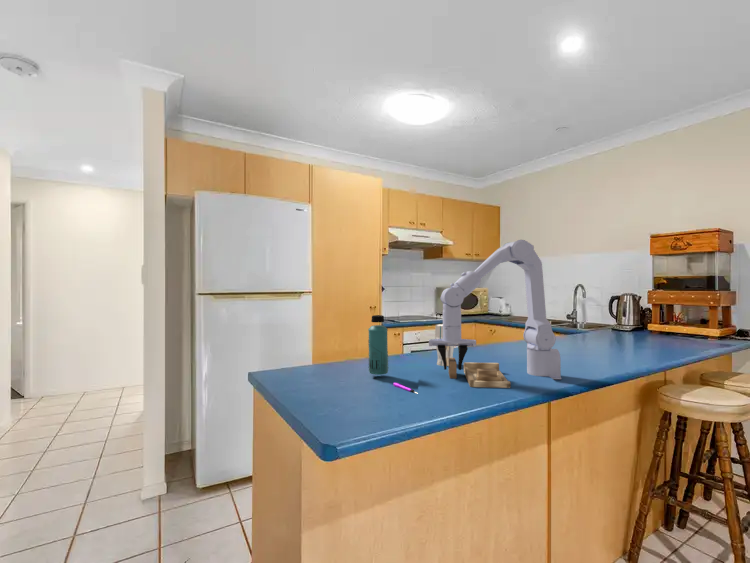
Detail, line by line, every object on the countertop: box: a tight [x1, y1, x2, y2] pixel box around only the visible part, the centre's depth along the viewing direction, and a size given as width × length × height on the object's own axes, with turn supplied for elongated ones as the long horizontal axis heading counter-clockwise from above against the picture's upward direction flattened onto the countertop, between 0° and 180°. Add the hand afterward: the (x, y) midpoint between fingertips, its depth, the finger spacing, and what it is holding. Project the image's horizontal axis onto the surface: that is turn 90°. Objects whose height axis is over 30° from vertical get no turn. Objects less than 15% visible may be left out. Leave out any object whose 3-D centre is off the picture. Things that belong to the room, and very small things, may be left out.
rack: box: [463, 361, 512, 389], centre depth 116 cm, size 11×18×4 cm, turn 172°
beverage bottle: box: [367, 314, 389, 376], centre depth 124 cm, size 6×7×20 cm
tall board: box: [448, 357, 458, 379], centre depth 121 cm, size 7×2×6 cm, turn 173°
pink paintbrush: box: [392, 382, 419, 394], centre depth 108 cm, size 3×1×16 cm
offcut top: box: [477, 369, 497, 377], centre depth 110 cm, size 5×2×2 cm, turn 86°
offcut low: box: [476, 375, 501, 381], centre depth 110 cm, size 6×2×2 cm, turn 82°
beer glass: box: [434, 323, 455, 367], centre depth 137 cm, size 7×7×15 cm
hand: (452, 369), depth 121 cm, fingers open, 4 cm apart
